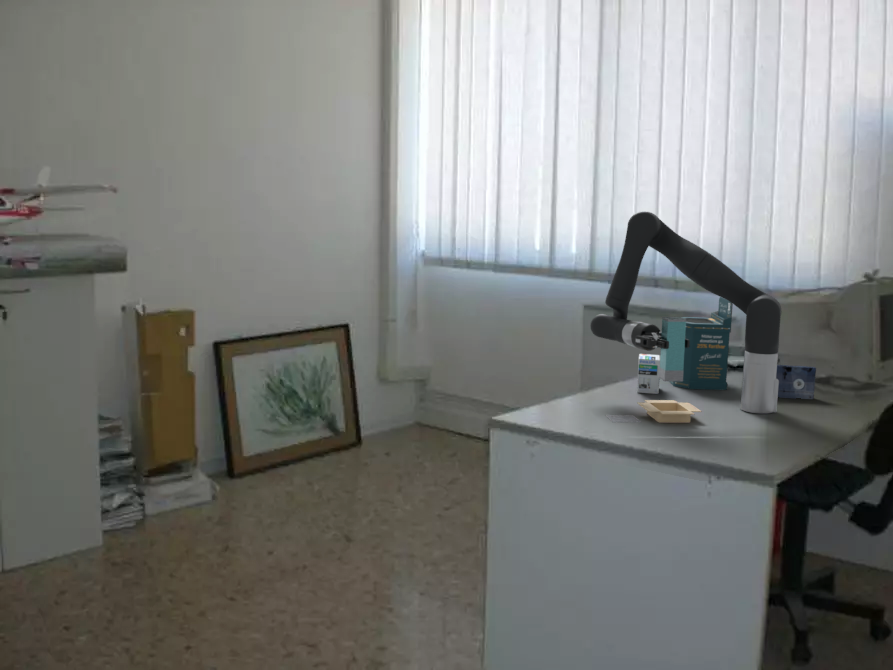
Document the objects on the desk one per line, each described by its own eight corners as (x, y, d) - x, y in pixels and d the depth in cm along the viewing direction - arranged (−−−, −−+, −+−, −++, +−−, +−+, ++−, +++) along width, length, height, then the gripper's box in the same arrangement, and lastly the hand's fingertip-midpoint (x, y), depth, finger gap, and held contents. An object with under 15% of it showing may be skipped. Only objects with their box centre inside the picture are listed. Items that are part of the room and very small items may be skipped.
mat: (633, 416, 285) (633, 415, 285) (641, 423, 277) (641, 422, 277) (605, 416, 284) (605, 415, 284) (612, 423, 276) (612, 421, 276)
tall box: (676, 377, 284) (680, 316, 282) (682, 381, 279) (686, 319, 277) (658, 377, 284) (662, 316, 281) (664, 381, 279) (668, 319, 276)
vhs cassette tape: (812, 398, 317) (815, 366, 316) (814, 400, 314) (816, 368, 313) (751, 394, 320) (753, 363, 319) (752, 396, 317) (754, 364, 316)
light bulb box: (658, 394, 316) (660, 360, 315) (636, 393, 318) (638, 358, 316) (658, 387, 327) (660, 354, 325) (637, 386, 328) (639, 353, 326)
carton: (684, 412, 292) (684, 400, 292) (704, 426, 276) (705, 413, 275) (633, 412, 291) (634, 400, 290) (650, 426, 274) (651, 413, 274)
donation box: (726, 390, 326) (732, 302, 322) (676, 388, 326) (681, 301, 322) (714, 380, 342) (720, 296, 337) (666, 378, 342) (671, 295, 338)
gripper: (620, 323, 289) (657, 332, 274) (662, 321, 295) (700, 329, 280) (619, 349, 290) (656, 359, 275) (660, 347, 296) (698, 356, 281)
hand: (678, 344), depth 278 cm, fingers closed on tall box, 6 cm apart
